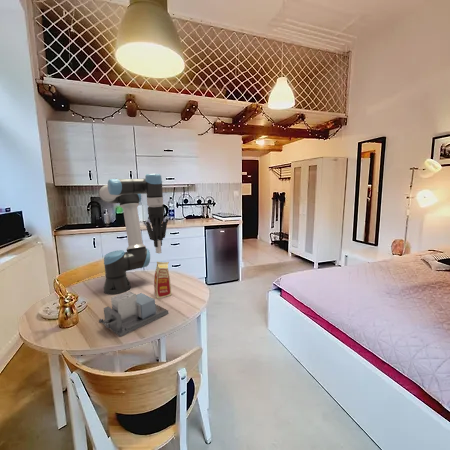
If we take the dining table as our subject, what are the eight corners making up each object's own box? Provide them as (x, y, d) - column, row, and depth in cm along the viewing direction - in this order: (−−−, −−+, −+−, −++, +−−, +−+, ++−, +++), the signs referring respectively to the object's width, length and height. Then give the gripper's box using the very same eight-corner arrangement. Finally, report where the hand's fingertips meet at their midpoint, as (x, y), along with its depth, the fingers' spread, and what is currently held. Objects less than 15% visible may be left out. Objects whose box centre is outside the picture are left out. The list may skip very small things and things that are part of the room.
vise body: (95, 327, 116) (93, 309, 115) (150, 303, 138) (149, 289, 136) (111, 340, 106) (109, 322, 104) (168, 313, 127) (167, 297, 126)
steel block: (113, 322, 117) (110, 297, 115) (131, 314, 124) (129, 291, 122) (119, 326, 114) (117, 301, 111) (138, 318, 120) (136, 294, 118)
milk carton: (157, 298, 144) (155, 264, 140) (153, 292, 152) (151, 260, 148) (173, 295, 148) (171, 261, 144) (169, 289, 156) (167, 257, 152)
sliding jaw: (128, 311, 126) (127, 298, 125) (142, 305, 132) (141, 292, 130) (142, 319, 118) (140, 305, 117) (155, 313, 124) (154, 299, 123)
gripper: (148, 207, 118) (151, 257, 122) (171, 205, 127) (173, 251, 131) (139, 206, 122) (143, 254, 126) (162, 204, 132) (164, 248, 136)
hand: (158, 252), depth 129 cm, fingers closed
